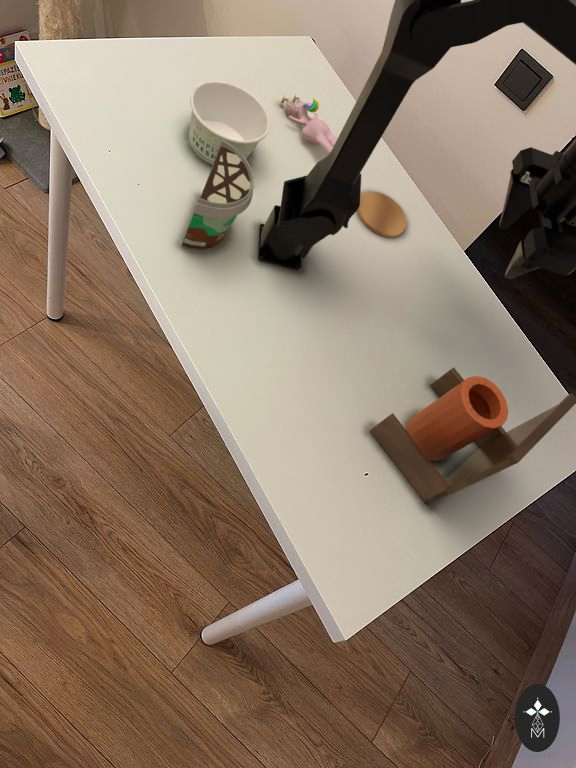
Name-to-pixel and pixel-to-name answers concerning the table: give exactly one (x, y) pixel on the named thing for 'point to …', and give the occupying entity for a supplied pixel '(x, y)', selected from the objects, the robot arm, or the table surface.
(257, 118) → the food container
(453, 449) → the jar
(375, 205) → the disc
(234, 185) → the food container
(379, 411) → the table surface
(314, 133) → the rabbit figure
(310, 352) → the table surface
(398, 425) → the wooden stand
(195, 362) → the table surface
